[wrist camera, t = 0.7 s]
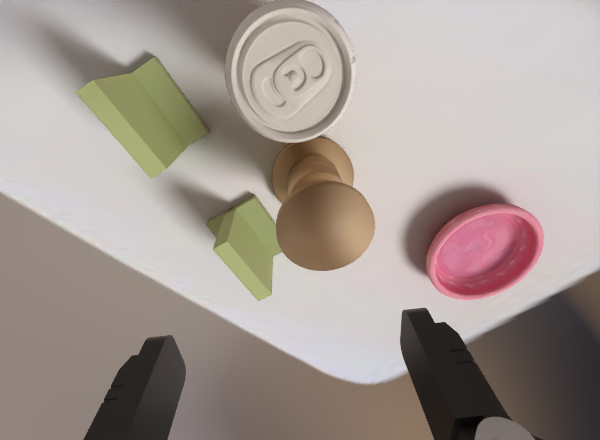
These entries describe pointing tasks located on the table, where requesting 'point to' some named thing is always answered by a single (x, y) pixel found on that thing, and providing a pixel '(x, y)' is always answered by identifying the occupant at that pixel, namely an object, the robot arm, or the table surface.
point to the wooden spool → (320, 206)
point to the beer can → (290, 70)
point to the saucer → (484, 251)
